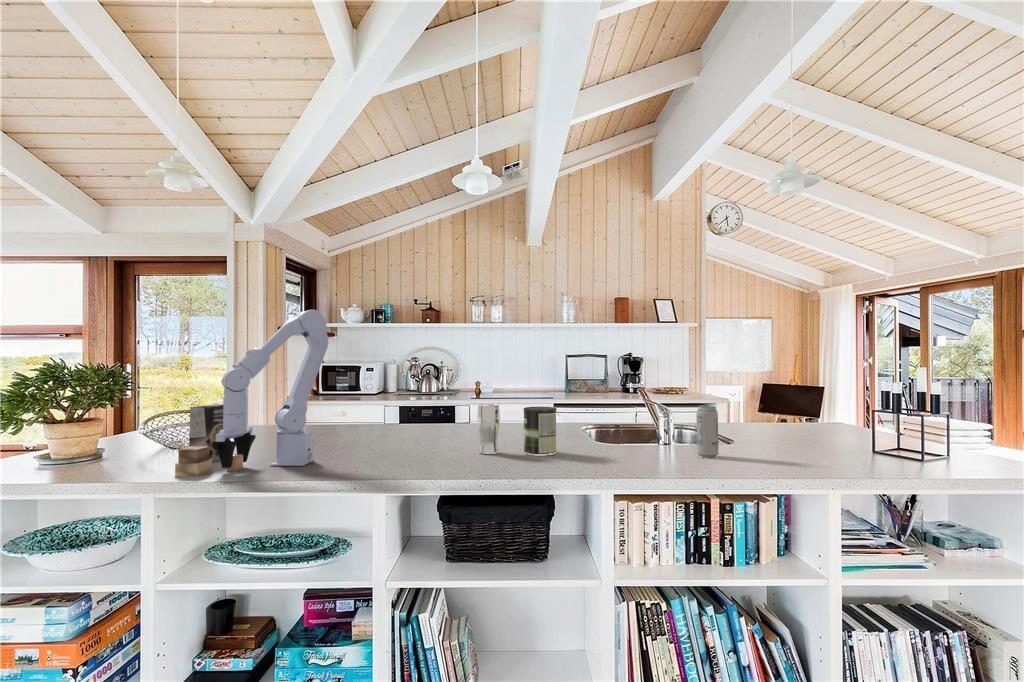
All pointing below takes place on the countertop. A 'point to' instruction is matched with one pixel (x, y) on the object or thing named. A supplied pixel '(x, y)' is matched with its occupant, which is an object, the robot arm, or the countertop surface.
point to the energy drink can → (707, 431)
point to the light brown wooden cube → (236, 463)
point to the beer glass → (488, 427)
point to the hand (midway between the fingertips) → (234, 464)
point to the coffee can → (539, 430)
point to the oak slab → (193, 468)
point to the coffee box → (206, 427)
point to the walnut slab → (194, 454)
